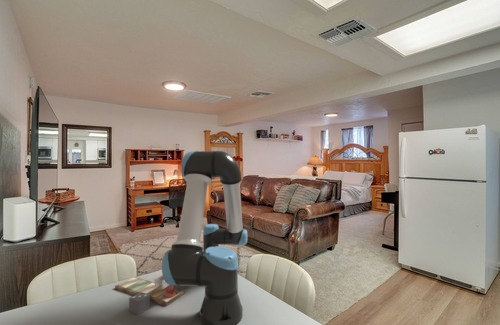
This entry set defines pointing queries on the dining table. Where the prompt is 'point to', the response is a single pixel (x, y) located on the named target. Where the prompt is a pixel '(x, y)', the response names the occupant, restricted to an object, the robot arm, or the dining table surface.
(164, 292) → the pawn
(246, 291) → the dining table surface
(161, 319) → the dining table surface
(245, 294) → the dining table surface
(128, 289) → the board
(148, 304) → the die
